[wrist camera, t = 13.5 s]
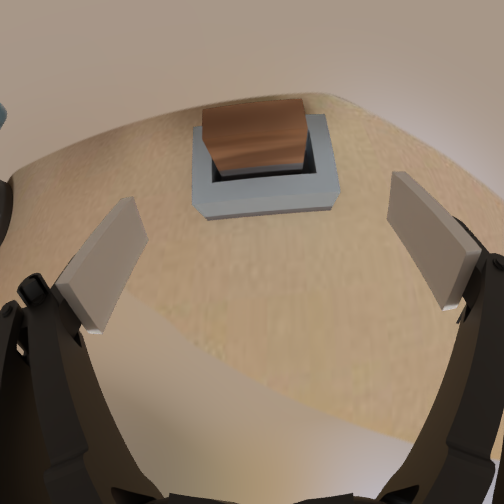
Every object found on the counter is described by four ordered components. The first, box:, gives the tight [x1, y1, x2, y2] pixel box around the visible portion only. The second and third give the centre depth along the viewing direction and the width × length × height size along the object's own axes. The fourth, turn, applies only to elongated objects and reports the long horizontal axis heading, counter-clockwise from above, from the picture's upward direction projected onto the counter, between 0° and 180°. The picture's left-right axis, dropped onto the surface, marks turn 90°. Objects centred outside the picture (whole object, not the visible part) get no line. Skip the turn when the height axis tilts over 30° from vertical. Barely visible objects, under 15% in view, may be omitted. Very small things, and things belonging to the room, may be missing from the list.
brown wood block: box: [202, 99, 308, 181], centre depth 25 cm, size 3×8×11 cm, turn 94°
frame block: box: [192, 114, 340, 221], centre depth 29 cm, size 9×14×6 cm, turn 94°
